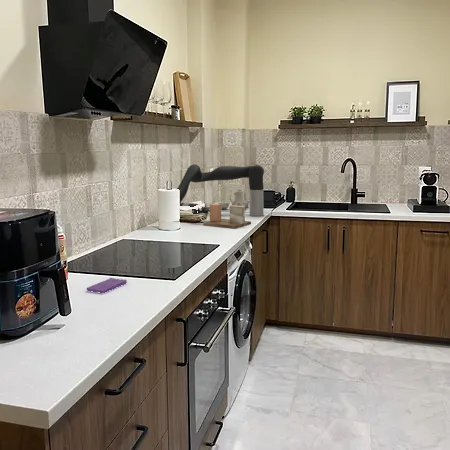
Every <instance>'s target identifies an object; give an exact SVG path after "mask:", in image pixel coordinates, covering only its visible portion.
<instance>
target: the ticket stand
mask: <svg viewBox="0 0 450 450" xmlns="http://www.w3.org/2000/svg"><path fill="white" fill-rule="evenodd" d="M245 210H246V208H245V206H234V205H232V204H231V205H229V218H221V221H210V220H209V221H205V222H203V226H205V227H206V226H207V227H213V228H214V227H215V228H222V229H223V228H225V229H232V230H235V229H238V228H241V227H243V228H244V227H245V226H249V225H251V224H252V221H249V220H245V217H246V215H245V213H246V212H245Z"/></svg>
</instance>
